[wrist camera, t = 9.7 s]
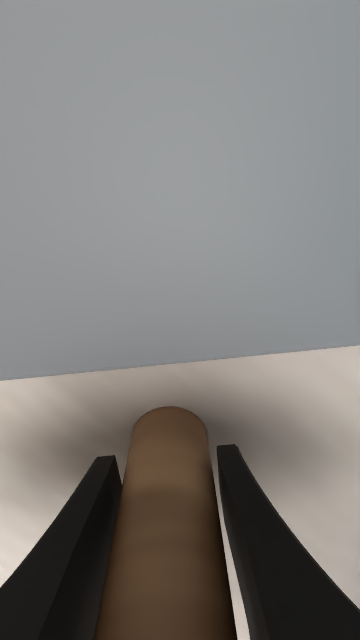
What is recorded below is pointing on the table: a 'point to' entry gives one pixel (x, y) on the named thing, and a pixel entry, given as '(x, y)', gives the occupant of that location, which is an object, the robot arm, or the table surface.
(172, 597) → the walnut dowel
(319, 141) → the slate board
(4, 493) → the table surface
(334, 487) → the table surface
